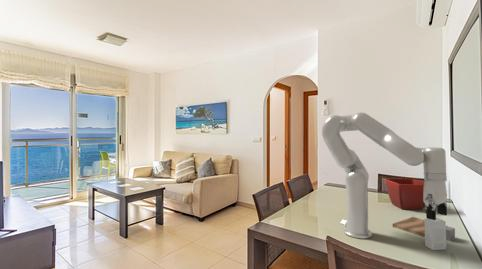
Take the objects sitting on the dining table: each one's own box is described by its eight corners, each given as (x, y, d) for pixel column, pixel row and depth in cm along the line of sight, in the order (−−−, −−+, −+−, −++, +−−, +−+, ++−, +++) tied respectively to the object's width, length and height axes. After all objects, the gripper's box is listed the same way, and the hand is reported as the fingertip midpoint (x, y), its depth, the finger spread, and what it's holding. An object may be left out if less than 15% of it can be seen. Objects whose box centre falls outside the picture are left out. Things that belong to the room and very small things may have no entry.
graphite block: (436, 237, 112) (436, 226, 112) (441, 235, 115) (441, 224, 115) (449, 241, 108) (449, 230, 108) (454, 239, 110) (454, 228, 110)
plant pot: (413, 202, 166) (413, 178, 166) (432, 211, 147) (432, 184, 147) (384, 202, 168) (384, 178, 168) (399, 211, 149) (399, 184, 149)
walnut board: (392, 226, 125) (392, 223, 125) (412, 219, 135) (412, 216, 135) (428, 238, 111) (428, 234, 111) (447, 229, 121) (447, 226, 121)
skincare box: (437, 245, 104) (437, 217, 104) (446, 249, 100) (446, 221, 100) (424, 245, 104) (424, 218, 104) (432, 250, 100) (432, 221, 100)
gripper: (434, 173, 109) (436, 210, 109) (414, 177, 101) (416, 218, 101) (455, 175, 103) (457, 215, 103) (435, 180, 95) (437, 223, 94)
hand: (436, 216), depth 102 cm, fingers open, 9 cm apart
